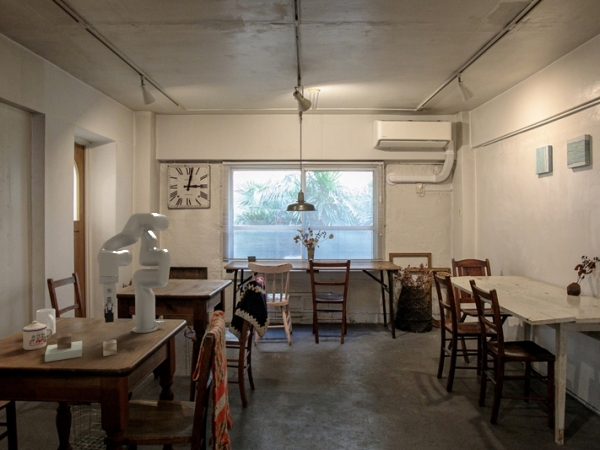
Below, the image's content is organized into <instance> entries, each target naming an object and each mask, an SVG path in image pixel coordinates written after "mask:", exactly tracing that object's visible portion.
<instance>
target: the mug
mask: <svg viewBox="0 0 600 450" xmlns="http://www.w3.org/2000/svg"><path fill="white" fill-rule="evenodd" d="M35 313H36V314H35V315H36V318H35V321H37V323H41V324H45V325H46V326H47V328H51V329H52V330H53V333H52V335H55V334H56V330H57V329H56V327H57V326H56V309H55V308H50V307H49V308H42V309H38V310H36V312H35ZM49 334H50V330H49V329H48V330H46V337H48V336H49Z"/></svg>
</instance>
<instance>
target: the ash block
mask: <svg viewBox="0 0 600 450" xmlns="http://www.w3.org/2000/svg"><path fill="white" fill-rule="evenodd" d="M102 346H103V347H102V351H103V352H102V353H103V357H107V356H111V355H117V353H118V352H117V351H118V349H117V347H118V346H117V339H108V340H103V341H102Z"/></svg>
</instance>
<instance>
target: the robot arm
mask: <svg viewBox="0 0 600 450" xmlns="http://www.w3.org/2000/svg"><path fill="white" fill-rule="evenodd" d="M169 224H170V222H169V219H168V217H167V215H165V214H160V213H156V212H135V213H133V214H132V215H130V217H129V218H128V220H127V222H126V224H125V225H124V227H123V229H122V230H121V232H119V233H117V234H115V235H113V236H112V237H110V238H109V239H107V240H106V241H105V242H104V243H103V244H102V245H101V247H100V249H99V250H98V253H97V257H96V260H97V264H98V284H99V285H101V291H102V292H101V294H102V295H101V296H102V305H103V308H104V310H103V312H104V313H103V315H104V317H103V318H104V323H105V324H108V323H114V322H115V321H114V319H115V318H114V317H115V316H114V315H115V314H114V313H115V312H114V307H115V308H116V307H117V306H118V305H117V284H119V267H127V266H129V265H130V264H131V263H132V261H133V253H132V252H131V251H130V250H128V249H123V248H125V247H129V246H131V245H135V244H136V243H137V242H138V241H140V249H139V255H138V263H139V265H140V266H141V267H144V268H140V269H137V270H136V271H134V272H133V275H132V281H133V288H134V298H135V299H134V302H135V304H134V305H135V310H134V311H135V326H134V327H133V328H131V330H132V332H133V333H136V334H146V333H151V332H155V331H157V330H158V329H159V326H160V325H166V323H165V320H157V319H156V295H155V292H154V290H153V288H156V289H157V288H165V287H167V285H168V283H169V278H170V270H171V260H172V259H171V253H170V251H169V250H168V249H166V248H158V246H159V245H158V244H159V239H158V237H157V236H156V234H155V233H154V232H164V231H166V230H167V229H168V228H169ZM145 267H146V268H145ZM149 267H150V268H149ZM153 267H154V268H153ZM155 267H156V268H155Z"/></svg>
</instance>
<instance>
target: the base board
mask: <svg viewBox="0 0 600 450" xmlns="http://www.w3.org/2000/svg"><path fill="white" fill-rule="evenodd" d="M46 346H47V347H46V350H45V353H44V363H48V362H53V361H54V362H55V361H60V360H66V359H73V358H79V357H83V340H78V341H72V346H71V348H68V349H61V350H57V343H56V344H48V345H46Z"/></svg>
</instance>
